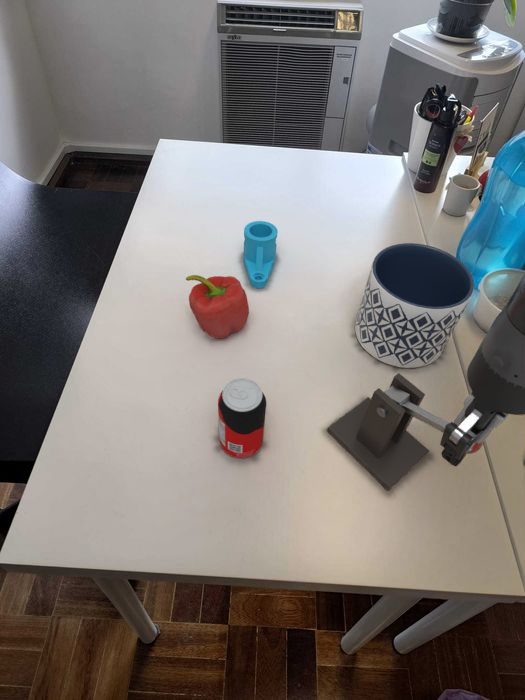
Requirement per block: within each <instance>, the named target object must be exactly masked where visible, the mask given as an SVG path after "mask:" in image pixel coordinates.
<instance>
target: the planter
mask: <svg viewBox="0 0 525 700" xmlns="http://www.w3.org/2000/svg"><path fill="white" fill-rule="evenodd" d="M474 289H475V281H474V277H473V275H472V273H471V271H470V270H469V268H468V267H467V266H466V265H465V264H464V263H463V261H461V260H460V259H459V258H457V257H456V256H454V255H453V254H451V253H450V252H447V251H446V250H444V249H440V248H438V247H435V246H432V245H429V244H424V243H423V244H422V243H413V242H407V243H406V242H405V243H397V244H393V245H390V246H388V247H385V248H383V249H381V250H380V251H379V252H378V253H377V254H376V255H375V257H374V259H373V261H372V264H371V267H370V270H369V274H368V277H367V280H366V284H365V286H364V291H363V294H362V297H361V302H360V304H359V308H358V311H357V315H356V319H355V324H354V332H355V336H356V338H357V340H358V343H359V344H360V345H361V346H362V348H363V349H364V350H365V351H366V352H367V353H368V354H370V356H372V357H373V358H374V359H376V360H378V361H379V362H382V363H385V364H387V365H390V366H393V367H398V368H405V369H415V368H421V367H425V366H428V365H430V364H432V363H433V362H435V361H437V360H438V359H439V357H440V356H441V355H442V354H443V351H444V349H445V348H446V346H447V344H448V342H449V340H450V338H451V336H452V334H453V333H454V330H455V328H456V327H457V325H458V322H459V321H460V319H461V317H462V315H463V313H464V311H465V309H466V307H467V305H468V303H469V301H470V299H471V298H472V295H473V293H474Z"/></svg>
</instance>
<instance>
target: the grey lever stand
mask: <svg viewBox="0 0 525 700" xmlns="http://www.w3.org/2000/svg"><path fill="white" fill-rule="evenodd" d="M391 386H394V387H396V388H398V389H400V390H402V391H404V392H406V393H408V394H410V402H411V403H413V404H415V405H417V406H419V407H420V406H421V404H422V401H423V400H424V397H425V396H426V393H424V392H423V391H422V390H421V389H420V388H418V387H417V386H416V385H414V384H413V383H412V382H411V381H409V380H408V379H407V378H405V376H404V375H402V374H401V373H400V372H398V373H397V374H395V375H394V376H393V378H392V381H391V382H390V385H389V387H388V389H389V388H390V387H391ZM384 392H385V391H383V390H382V389H381V388H379V387H378V388H377V389H376V390H374V391H373V393H372V396H371V397H366V398H365V399H364V400H362V401H361V402H360V403H359V404H357V405H355V406H354V407H353V408H352V409H351V410H349V411H348V412H346V413H345V414H344V415H343V416H341V417H340V418H339V419H337V420H336V421H335V422H333V423H332V424H331V425H329V426H328V427H327V430H326V432H327V433H328V434H329V435H330V436H331V438H333V439H334V440H335V442H337V443H338V444H339V445H340V446H341V447H342V448H343V449H344V450H345V451H346V452H347V453H348V454H349V455H350V456H351V457H352V458H353V459H354V460H355V461H356V462H357V463H358V464H359V465H360V466H361V467H362V468H363V469H365V471H367V473H369V475H370V476H372V477H373V479H375V480H376V481H377V482H378V483H379V484H380V485H381V486H382V487H383V488H384V489H385V490H386V491H387V492H388V491H389V490H391V489H392V488H393V487H394V486H395V485H396V484H397V483H398V482H400V481H401V480H402V479H403V478H404V477H405V476H406V475H408V473H409V472H410V471H411V470H413V469H414V468H415V467H416V466H417V465H418V464H419V463H420V462H421V461H422V460H424V459H425V458H426V457H427V456H428V455H429V453H430V450H429V449H428V448H427V447H426V446H425V445H423V444H422V443H421V442H420V441H419V440H418V439H417V438H416V437H415V436H414V435H412V434H411V433H410V432H409V431H408V430H407V429H409V425H410V424H411V422H412V421H413V418H414V417H413V416H412V415H410V414H408V413H406V412H405V410H404V409H403V408H402V407H401V406H400V405H398V404H397V403H396V402H395V401H394V400H393V399H391V398H390V397H389V396H388V395H387V394H385V393H384Z"/></svg>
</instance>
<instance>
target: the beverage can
mask: <svg viewBox="0 0 525 700" xmlns="http://www.w3.org/2000/svg"><path fill="white" fill-rule="evenodd" d="M266 413H267V399H266V395H265V393H264V392H263V390H262V388H261V386H260V385H259V384H258V383H257V382H256V381H255V380H252V379H249V378H246V377H245V378H242V377H241V378H235V379H232V380H230V381H229V382H228V383H227V384H225V386H224V387H223V389H222V390H221V392H220V394H219V396H218V399H217V415H218V416H217V417H218V418H217V419H218V440H219V441H218V442H219V444H220V447H221V449H222V450H223V451H224V452H225V453H226V454H228V455H229V456H231V457H232V458H233V457H234V458H238V459H244V458H245V459H246V458H249V457H252V456H254V455H255V454H257V452H258V451H259V450H260V449H261V448H262V445H263V442H264V433H265V432H264V431H265V423H266V422H265V421H266Z"/></svg>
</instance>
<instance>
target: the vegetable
mask: <svg viewBox="0 0 525 700" xmlns="http://www.w3.org/2000/svg"><path fill="white" fill-rule="evenodd" d="M185 280H186V281H188V282H189V281H197V282H200V283H197V284H195V285H194V286H193V287H192V288H191V290H190V293H189V294H188V304H189V308H190V309H191V312H192V314H193V315H194V317H195V320H196V322H197V324H198V325H199V327H200V329H201V330H202V331H203V332H205V334H207V335H208V336H210V337H212V338H217V339H224V338H227V337H228V336H229V335H230V334H231V333H234V332H239V331H240V330H242V329H243V328H244V327H245V325H247V321H248V318H249V315H250V307H249V301H248V297H247V293H246V290H245V289H244V288H243V286H242V284H241V281H240V280H239V279H238V278H236V276H231V275H229V276H223V275H217V276H216V275H214V276H210V277H208V278H205V277H204V276H202V275H197V274H192V275H191V274H190V275H189V276H187V277H185Z"/></svg>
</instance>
